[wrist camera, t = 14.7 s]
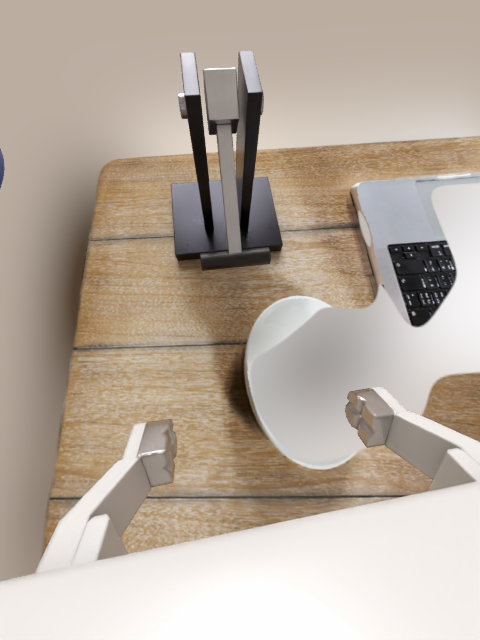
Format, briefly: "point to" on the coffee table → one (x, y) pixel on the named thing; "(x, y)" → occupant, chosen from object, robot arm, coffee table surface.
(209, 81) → the lever
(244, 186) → the bracket
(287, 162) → the coffee table surface
